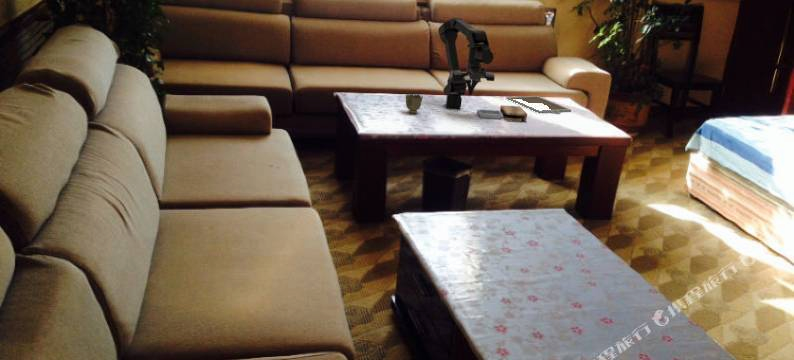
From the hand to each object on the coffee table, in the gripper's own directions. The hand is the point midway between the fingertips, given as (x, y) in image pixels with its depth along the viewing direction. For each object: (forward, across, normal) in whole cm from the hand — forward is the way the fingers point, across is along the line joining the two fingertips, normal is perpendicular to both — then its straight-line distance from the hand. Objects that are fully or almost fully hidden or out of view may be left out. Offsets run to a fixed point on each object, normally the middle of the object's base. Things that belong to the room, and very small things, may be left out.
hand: (470, 94), depth 286 cm
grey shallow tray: (+10, +10, 0) cm, 14 cm away
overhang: (+9, +21, 0) cm, 23 cm away
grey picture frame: (+10, +40, +25) cm, 48 cm away
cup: (+10, -25, -1) cm, 27 cm away
